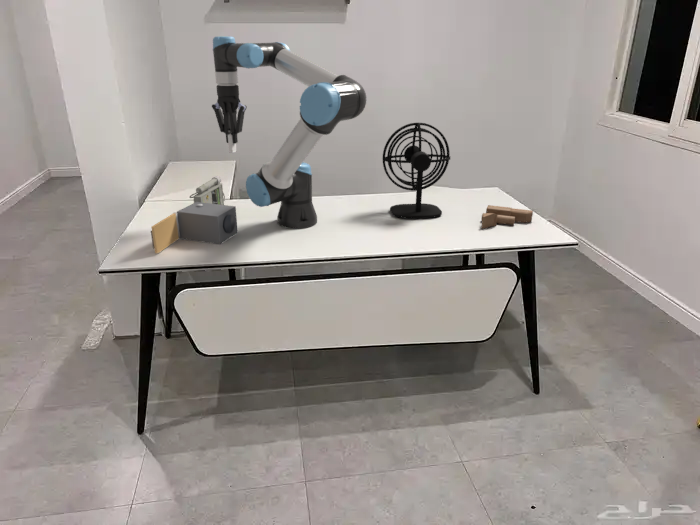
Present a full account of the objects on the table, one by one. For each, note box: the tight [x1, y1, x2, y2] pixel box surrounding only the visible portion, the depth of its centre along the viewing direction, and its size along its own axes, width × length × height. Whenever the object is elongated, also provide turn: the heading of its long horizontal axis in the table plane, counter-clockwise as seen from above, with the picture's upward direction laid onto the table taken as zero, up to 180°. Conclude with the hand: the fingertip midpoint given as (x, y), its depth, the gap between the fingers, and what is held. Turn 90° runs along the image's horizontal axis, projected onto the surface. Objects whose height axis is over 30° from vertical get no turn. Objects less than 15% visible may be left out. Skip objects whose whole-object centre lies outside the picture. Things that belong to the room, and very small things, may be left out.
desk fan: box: [382, 122, 451, 219], centre depth 212 cm, size 27×18×35 cm, turn 97°
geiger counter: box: [189, 175, 226, 205], centre depth 214 cm, size 14×6×25 cm
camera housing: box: [176, 202, 239, 245], centre depth 191 cm, size 17×12×11 cm
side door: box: [150, 211, 180, 254], centre depth 182 cm, size 15×2×9 cm, turn 168°
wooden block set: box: [480, 204, 534, 230], centre depth 206 cm, size 17×6×18 cm
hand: (232, 152), depth 198 cm, fingers closed
